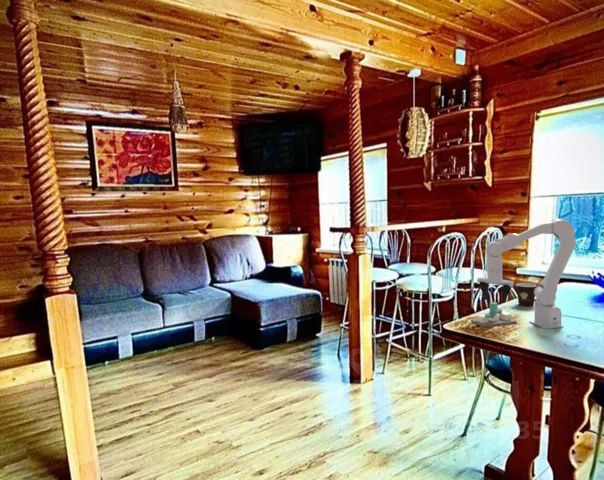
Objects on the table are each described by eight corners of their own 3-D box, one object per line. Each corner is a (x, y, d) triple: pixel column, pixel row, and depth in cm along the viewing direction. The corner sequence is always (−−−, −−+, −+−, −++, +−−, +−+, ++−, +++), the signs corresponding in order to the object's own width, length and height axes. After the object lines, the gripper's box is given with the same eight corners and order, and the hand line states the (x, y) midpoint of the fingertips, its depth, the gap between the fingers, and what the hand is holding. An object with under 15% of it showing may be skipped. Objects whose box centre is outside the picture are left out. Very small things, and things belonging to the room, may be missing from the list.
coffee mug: (512, 304, 196) (512, 284, 195) (524, 301, 199) (524, 282, 198) (533, 309, 185) (533, 288, 184) (546, 307, 188) (546, 286, 187)
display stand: (504, 317, 176) (504, 310, 175) (516, 323, 168) (516, 315, 168) (471, 321, 173) (471, 313, 173) (482, 327, 165) (482, 318, 165)
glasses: (495, 310, 176) (495, 299, 175) (504, 311, 173) (504, 300, 173) (482, 317, 167) (482, 305, 167) (491, 318, 165) (491, 307, 164)
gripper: (516, 269, 166) (516, 301, 167) (482, 266, 177) (483, 296, 178) (509, 272, 161) (509, 304, 163) (474, 269, 172) (475, 299, 174)
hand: (495, 300), depth 170 cm, fingers open, 7 cm apart
